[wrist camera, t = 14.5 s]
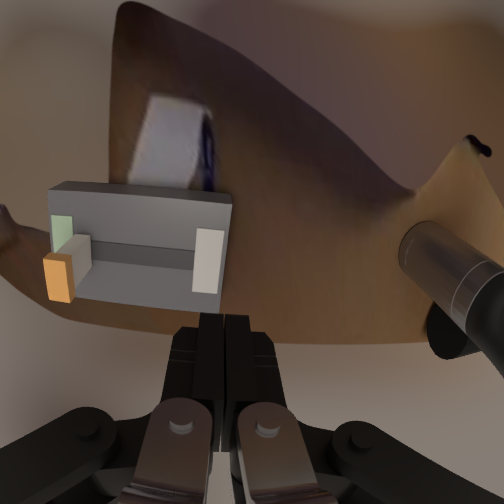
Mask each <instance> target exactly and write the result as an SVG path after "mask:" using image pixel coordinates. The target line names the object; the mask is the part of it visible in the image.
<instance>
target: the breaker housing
mask: <svg viewBox="0 0 504 504" xmlns="http://www.w3.org/2000/svg"><path fill="white" fill-rule="evenodd" d="M231 211H232V199H231V194H225V193H216V192H207V191H197V190H187V189H176V188H165V187H153V186H140V185H126V184H111V183H95V182H75V181H65V182H62V183H60V184H58V185H57V186H54V187H53V188H50V189H48V212H49V229H50V241H51V251H52V253H56V252H57V251H58V250H59V249H60V248H61V247H62V246H63V245H64V244H65V243H66V242H67V241H68V240H69V239H70V238H71V237H73V236H74V235H75V234H83V235H90V241H91V259H92V267H91V268H90V270H89V271H88V272H87V274H86V275H85V276H84V278H83V279H82V281H81V282H80V283H79V285H78V286H77V287H76V289H75V293H76V295H75V297H80V298H87V299H93V300H100V301H107V302H115V303H122V304H130V305H138V306H146V307H155V308H164V309H173V310H183V311H193V312H206V313H218V314H219V307H220V298H221V290H222V282H223V273H224V265H225V257H226V249H227V241H228V234H229V226H230V218H231Z"/></svg>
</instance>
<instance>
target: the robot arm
mask: <svg viewBox="0 0 504 504" xmlns="http://www.w3.org/2000/svg"><path fill="white" fill-rule="evenodd" d="M399 263H400V266H401V268H402V269H403V271H404V272H405V273H406V274H407V275H408V276H409V277H410V278H411V279H412V280H413V281H414V282H416V284H417V285H418V286H419V287H420V288H421V289H423V290H424V291H425V292H426V293H427V294H428V295H429V296H430V297H431V298H432V299H433V300H434V301H435V302H436V303H437V304H438V305H439V307H440V308H441V309H442V310H443V311H444V312H445V313H446V314H447V315H448V316H449V317H450V318H451V319H452V320H453V321H454V322H455V323H456V324H457V325H458V326H459V327H460V328H461V329H462V330H463V331H464V333H465V334H466V335H467V336H468V337H469V338H470V339H471V340H472V341H473V342H474V343H475V344H476V345H477V346H478V347H479V349H480V350H481V351H482V352H483V353H484V354H485V355H486V356H487V357H488V359H489V360H490V361H491V362H492V363H493V365H494V366H495V367H496V368H497V370H498V371H499V373H500V374H501V375H502V376H503V378H504V267H502V266H501V265H499V264H498V263H497V262H495V261H493V260H492V259H491V258H489V257H488V256H486V255H485V254H483V253H482V252H480V251H479V250H477V249H476V248H474V247H473V246H471V245H470V244H468V243H467V242H465V241H463V240H462V239H460V238H459V237H457V236H456V235H454V234H452V233H451V232H449V231H448V230H446V229H444V228H443V227H441V226H439V225H438V224H436V223H434V222H430V221H427V222H422V223H419V224H417V225H416V226H414V227H413V228H412V229H411V230H410V231H409V232H408V233H407V234H406V236H405V237H404V239H403V241H402V243H401V246H400V250H399ZM220 435H221V452H230V470H229V481H230V488H231V495H232V502H233V504H504V499H503V498H501V497H499V496H497V495H495V494H493V493H491V492H489V491H487V490H485V489H483V488H481V487H479V486H477V485H475V484H474V483H472V482H470V481H468V480H466V479H464V478H462V477H460V476H459V475H456V474H455V473H453V472H451V471H449V470H447V469H446V468H444V467H442V466H440V465H439V464H437V463H435V462H433V461H432V460H430V459H428V458H426V457H425V456H423V455H421V454H420V453H418V452H416V451H414V450H413V449H411V448H410V447H408V446H406V445H405V444H403V443H401V442H400V441H398V440H396V439H395V438H393V437H392V436H390V435H388V434H387V433H385V432H384V431H382V430H380V429H379V428H377V427H376V426H374V425H372V424H370V423H367V422H363V421H349V422H346V423H344V424H342V425H340V426H339V427H338V428H337V429H336V430H335V431H331V430H326V429H320V428H316V427H312V426H308V425H306V424H303V423H302V422H300V421H298V420H297V419H296V417H295V416H294V414H293V413H292V412H291V411H290V410H288V408H287V405H286V401H285V397H284V392H283V387H282V382H281V378H280V372H279V368H278V363H277V358H276V353H275V349H274V343H273V342H272V341H271V339H270V338H269V337H268V336H267V335H266V333H265V332H251V329H250V321H249V316H248V315H233V314H225V320H224V314H218V313H206V312H200V320H199V328H194V327H183V326H182V327H181V328H180V330H179V331H178V332H177V333H176V334H175V335H174V336H173V341H172V345H171V351H170V355H169V361H168V365H167V370H166V376H165V381H164V387H163V392H162V397H161V401H160V403H159V404H158V405H157V406H156V407H155V408H154V410H153V411H152V412H151V413H149V414H147V415H145V416H143V417H140V418H136V419H129V420H119V421H114V420H113V419H112V418H111V416H110V415H108V414H107V413H106V412H104V411H103V410H100V409H98V408H94V407H80V408H76V409H74V410H71V411H69V412H67V413H66V414H64V415H62V416H61V417H59V418H57V419H55V420H53V421H51V422H49V423H48V424H46V425H44V426H42V427H40V428H38V429H37V430H35V431H33V432H31V433H29V434H27V435H25V436H24V437H22V438H20V439H18V440H16V441H14V442H12V443H10V444H8V445H6V446H4V447H3V448H1V449H0V504H206V502H207V492H208V482H209V475H210V474H211V471H212V462H213V452H219V445H220Z"/></svg>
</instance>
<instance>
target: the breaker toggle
mask: <svg viewBox="0 0 504 504" xmlns="http://www.w3.org/2000/svg"><path fill="white" fill-rule="evenodd" d="M43 263H44V270H45V277H46V283H47V290H48V295H49V300H55V301H61V302H67V303H71V301H72V300H73V298H74V297H75V295H76V293H75V289H76V287H77V286H78V285H79V283H80V282H81V281H82V279H83V278H84V276H85V275H86V274H87V272H88V271H89V270H90V268H91V267H92V259H91V241H90V235H83V234H75V235H74V236H73V237H71V238H70V239H69V240H68V241H67V242H66V243H65V244H64V245H63V246H62V247H61V248H60V249H59V250H58V251H57V252H56V253H52V252H50V253H49V254H48V255H47V256H45V257H44V258H43Z"/></svg>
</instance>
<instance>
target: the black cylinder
mask: <svg viewBox="0 0 504 504" xmlns="http://www.w3.org/2000/svg"><path fill="white" fill-rule="evenodd" d="M427 337H428V340H429V344H430V347H431V348H432V350H433V351H434V353H435V354H436V355H437V356H438V357H440V358H442V359H446V360H448V359H454V358H458V357H461V356H465V355H468V354H472V353H476V352H479V351H481V350H480V349H479V347H478V346H477V345H476V344H475V343H474V342H473V341H472V340H471V339H470V338H469V337H468V336H467V335H466V334H465V333H464V331H463V330H462V329H461V328H460V327H459V326H458V325H457V324H456V323H455V322H454V321H453V320H452V319H451V318H450V317H449V316H448V315H447V314H446V313H445V312H444V311H443V310H442V309H441V308H440V307H439V305H438V304H437V305H436V306H435V307H434V309H433V310H432V312H431V314H430V317H429V319H428V325H427Z"/></svg>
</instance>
